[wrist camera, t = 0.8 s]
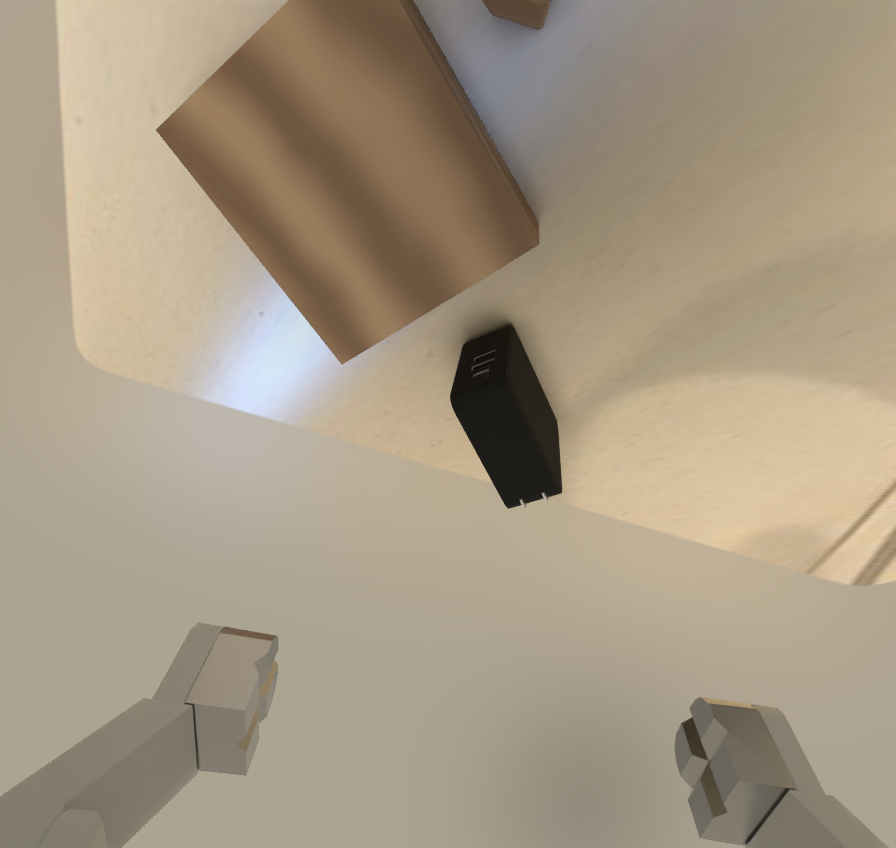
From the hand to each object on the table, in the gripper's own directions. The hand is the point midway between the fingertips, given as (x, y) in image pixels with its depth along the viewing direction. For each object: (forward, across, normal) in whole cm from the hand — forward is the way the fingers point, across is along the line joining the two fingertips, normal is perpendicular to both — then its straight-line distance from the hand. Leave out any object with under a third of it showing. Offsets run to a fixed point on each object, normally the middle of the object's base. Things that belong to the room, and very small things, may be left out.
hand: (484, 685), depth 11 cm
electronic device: (+36, -4, +9) cm, 38 cm away
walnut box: (+36, +8, -5) cm, 37 cm away
